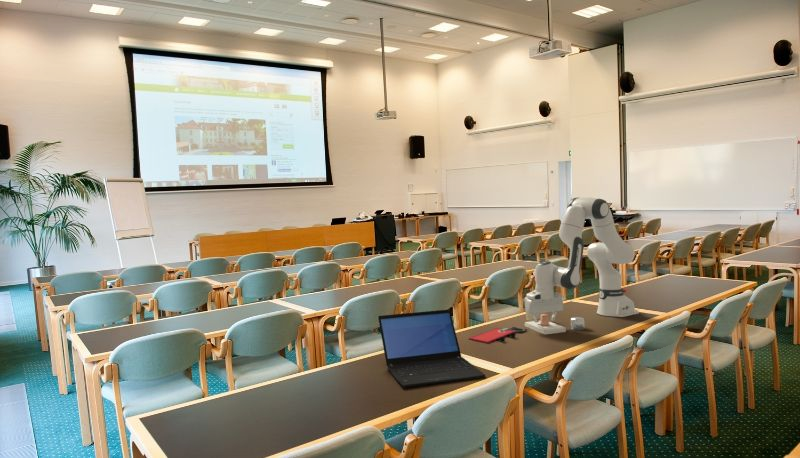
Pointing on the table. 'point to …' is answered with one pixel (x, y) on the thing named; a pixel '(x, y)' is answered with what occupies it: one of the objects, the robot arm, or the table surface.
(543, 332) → the white flat block
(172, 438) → the table surface
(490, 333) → the red board with handle
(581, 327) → the clear glass block
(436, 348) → the laptop
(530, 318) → the coffee cup
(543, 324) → the terracotta peg
